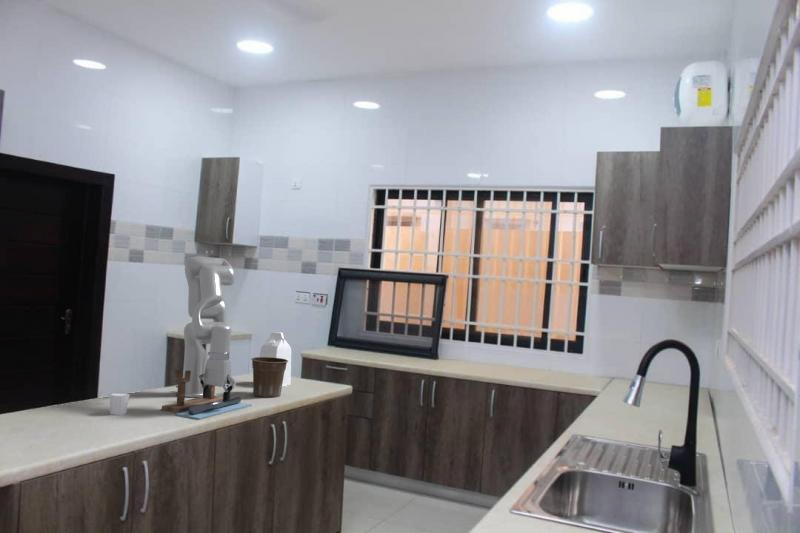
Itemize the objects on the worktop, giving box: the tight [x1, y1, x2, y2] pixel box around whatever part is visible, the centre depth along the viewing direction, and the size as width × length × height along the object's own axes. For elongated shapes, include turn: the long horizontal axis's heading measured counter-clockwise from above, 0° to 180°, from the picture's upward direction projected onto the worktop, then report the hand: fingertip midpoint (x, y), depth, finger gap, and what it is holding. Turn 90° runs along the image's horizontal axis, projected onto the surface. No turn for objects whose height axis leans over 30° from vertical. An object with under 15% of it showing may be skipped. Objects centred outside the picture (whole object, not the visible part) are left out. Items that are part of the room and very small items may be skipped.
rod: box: [188, 395, 242, 415], centre depth 248 cm, size 28×3×3 cm, turn 158°
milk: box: [259, 331, 292, 387], centre depth 311 cm, size 12×12×26 cm
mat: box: [175, 401, 253, 420], centre depth 248 cm, size 11×32×1 cm, turn 158°
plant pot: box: [251, 356, 288, 398], centre depth 285 cm, size 16×16×16 cm
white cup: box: [108, 392, 130, 416], centre depth 233 cm, size 7×7×7 cm
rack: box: [161, 368, 223, 413], centre depth 254 cm, size 9×28×15 cm, turn 158°
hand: (215, 399), depth 248 cm, fingers open, 9 cm apart
